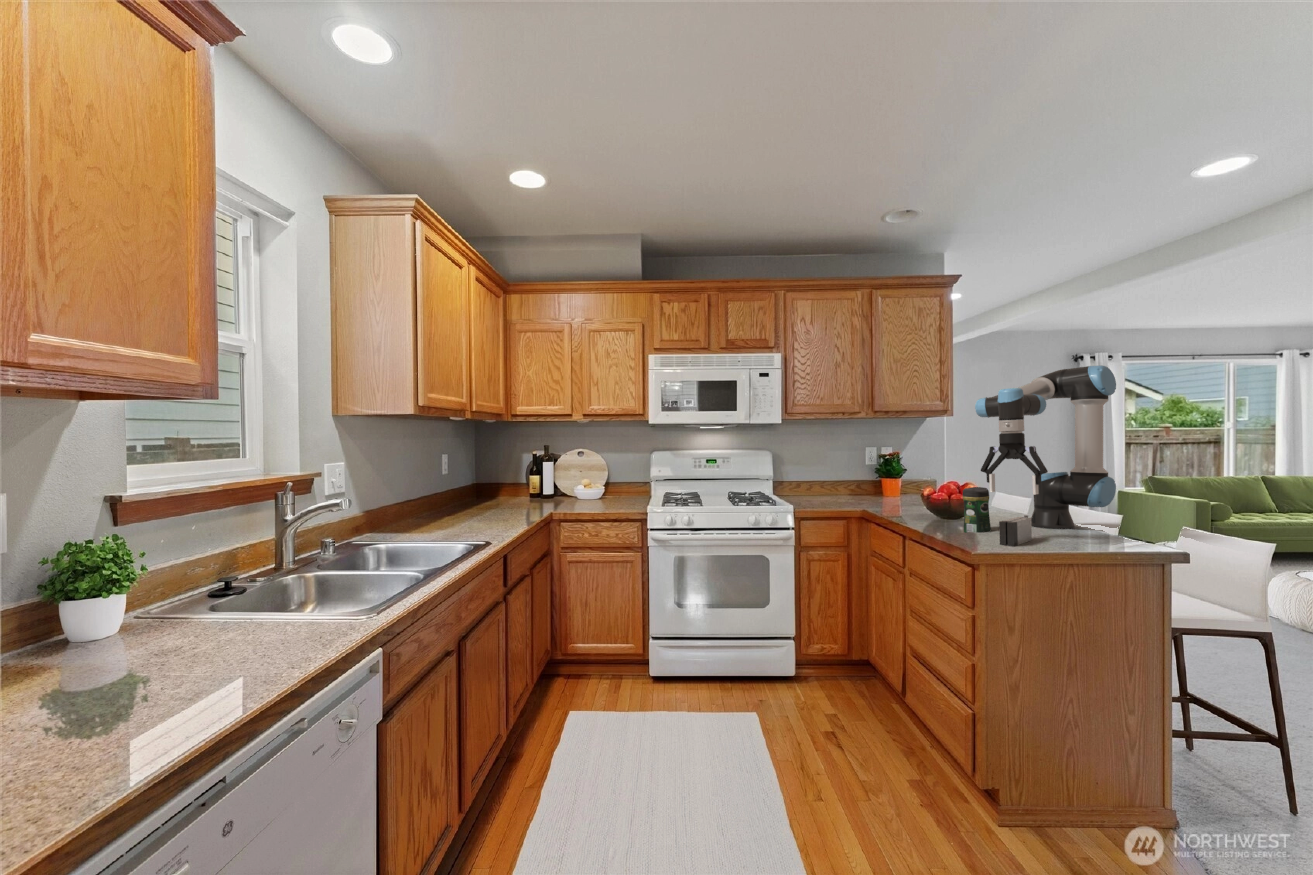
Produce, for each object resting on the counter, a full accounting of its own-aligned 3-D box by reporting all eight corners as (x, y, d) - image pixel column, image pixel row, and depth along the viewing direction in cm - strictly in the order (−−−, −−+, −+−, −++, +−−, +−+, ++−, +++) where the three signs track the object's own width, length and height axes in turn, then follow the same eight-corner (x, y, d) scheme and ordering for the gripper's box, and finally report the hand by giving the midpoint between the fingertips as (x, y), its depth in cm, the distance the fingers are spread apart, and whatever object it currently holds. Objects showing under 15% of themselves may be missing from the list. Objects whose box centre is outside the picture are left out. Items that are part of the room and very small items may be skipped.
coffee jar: (975, 531, 228) (974, 485, 228) (994, 534, 220) (993, 487, 221) (959, 533, 224) (958, 487, 224) (978, 536, 216) (976, 488, 216)
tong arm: (1018, 538, 203) (1017, 516, 203) (1024, 539, 202) (1023, 517, 202) (999, 544, 193) (999, 521, 193) (1006, 545, 192) (1005, 522, 192)
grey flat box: (1025, 540, 203) (1024, 515, 203) (1035, 541, 200) (1034, 516, 200) (1004, 546, 192) (1003, 520, 192) (1014, 547, 190) (1013, 521, 190)
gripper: (969, 433, 203) (971, 491, 203) (1049, 431, 184) (1051, 496, 184) (978, 433, 208) (980, 490, 208) (1057, 431, 188) (1059, 494, 188)
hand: (1013, 493), depth 196 cm, fingers open, 13 cm apart
